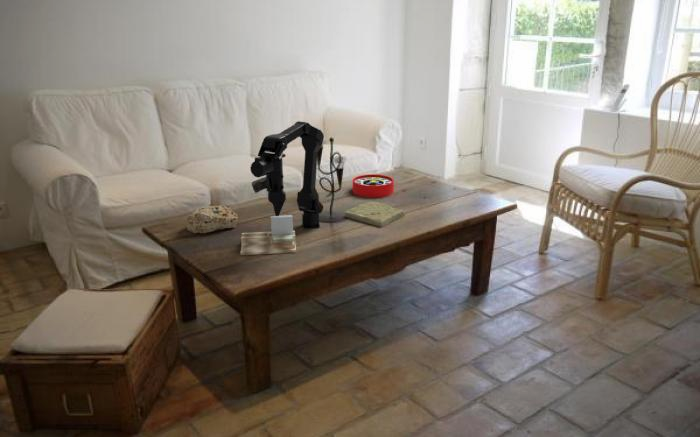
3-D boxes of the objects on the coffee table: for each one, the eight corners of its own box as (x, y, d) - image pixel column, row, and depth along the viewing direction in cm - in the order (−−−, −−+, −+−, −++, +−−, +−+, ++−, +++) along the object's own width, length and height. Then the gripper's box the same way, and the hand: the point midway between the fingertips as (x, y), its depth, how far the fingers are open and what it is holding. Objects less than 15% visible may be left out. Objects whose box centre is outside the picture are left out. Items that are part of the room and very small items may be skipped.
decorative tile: (381, 228, 234) (381, 220, 233) (344, 217, 246) (343, 209, 245) (407, 216, 247) (407, 208, 246) (370, 206, 259) (370, 199, 258)
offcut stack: (294, 243, 215) (294, 234, 214) (295, 248, 211) (294, 239, 210) (270, 245, 214) (270, 236, 213) (270, 249, 211) (269, 240, 209)
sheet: (293, 239, 219) (292, 215, 215) (293, 241, 217) (292, 216, 214) (272, 240, 218) (270, 216, 215) (272, 242, 217) (270, 217, 213)
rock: (227, 219, 246) (230, 198, 242) (241, 236, 236) (244, 215, 232) (180, 224, 235) (182, 202, 230) (192, 242, 225) (195, 220, 220)
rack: (295, 237, 223) (294, 228, 222) (296, 252, 210) (295, 242, 209) (243, 240, 221) (242, 230, 220) (240, 255, 208) (239, 244, 207)
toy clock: (373, 172, 291) (402, 180, 277) (373, 183, 293) (402, 191, 279) (344, 179, 278) (373, 188, 264) (344, 191, 280) (372, 200, 266)
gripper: (251, 165, 215) (253, 205, 220) (252, 178, 197) (255, 221, 203) (281, 164, 217) (282, 203, 222) (285, 177, 199) (286, 219, 205)
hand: (276, 212), depth 213 cm, fingers open, 9 cm apart
